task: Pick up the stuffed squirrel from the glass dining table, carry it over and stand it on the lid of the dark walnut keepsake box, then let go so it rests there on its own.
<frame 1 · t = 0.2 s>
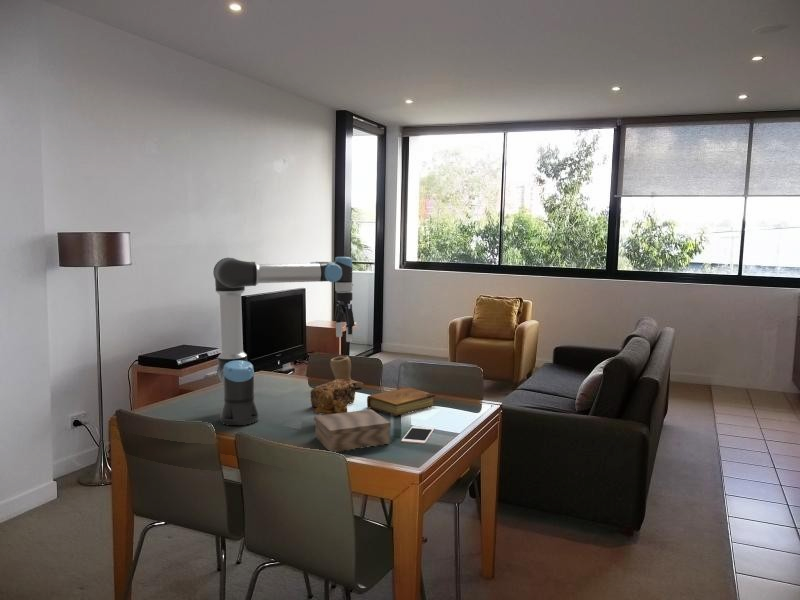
hand: (344, 339, 285), 28 cm above the table, tool pointing down, fingers open, 13 cm apart
stuffed squirrel: (333, 424, 253), on the table
diary: (401, 407, 278), on the table
walnut box: (351, 440, 233), on the table
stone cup: (344, 387, 311), on the table
bread: (333, 405, 281), on the table
cell phone: (418, 436, 239), on the table
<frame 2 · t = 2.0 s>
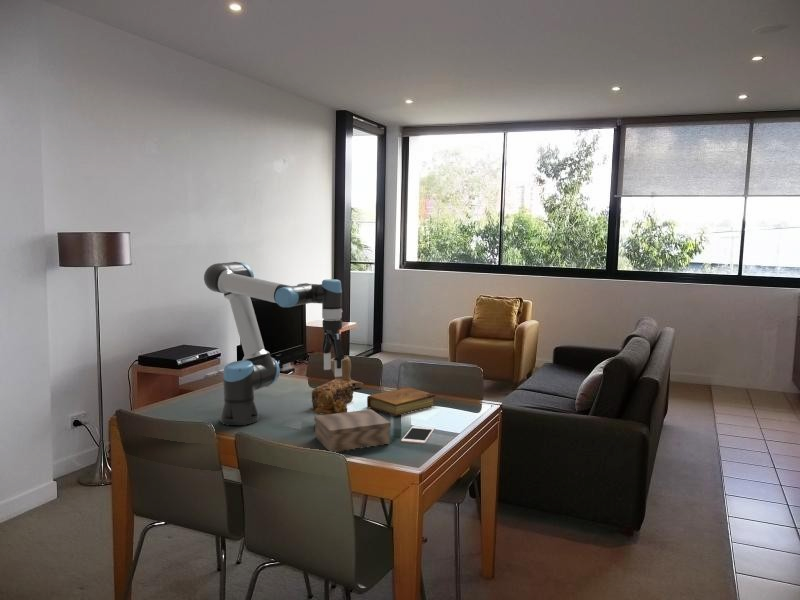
hand: (332, 372, 250), 21 cm above the table, tool pointing down, fingers open, 13 cm apart
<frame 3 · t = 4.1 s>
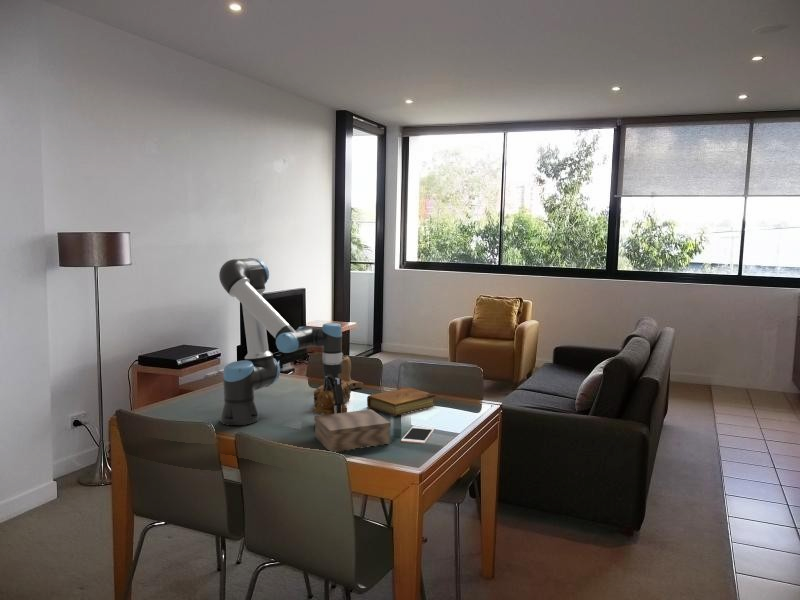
hand: (333, 416, 252), 3 cm above the table, tool pointing down, fingers closed on stuffed squirrel, 12 cm apart
stuffed squirrel: (332, 423, 253), on the table, touching gripper
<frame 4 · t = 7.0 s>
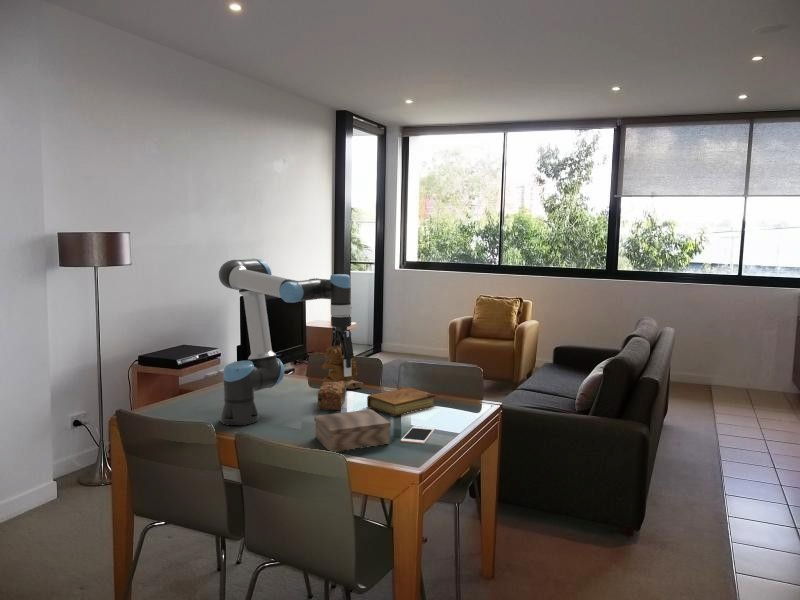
hand: (342, 373, 240), 23 cm above the table, tool pointing down, fingers closed on stuffed squirrel, 12 cm apart
stuffed squirrel: (341, 380, 242), point 20 cm above the table, touching gripper
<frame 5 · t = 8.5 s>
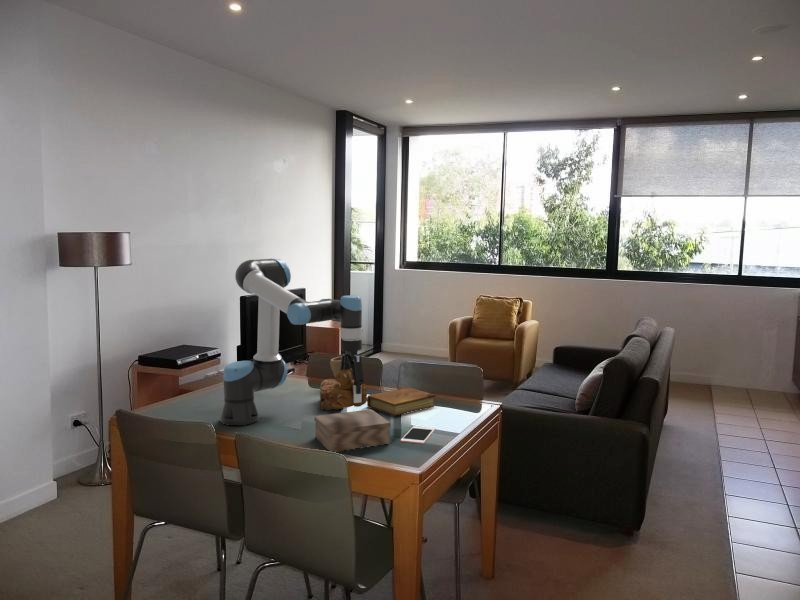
hand: (351, 398, 231), 16 cm above the table, tool pointing down, fingers closed on stuffed squirrel, 12 cm apart
stuffed squirrel: (350, 405, 232), point 13 cm above the table, touching gripper
when the fingers open (12 cm above the table, at t = 9.8 s): stuffed squirrel drops 1 cm, resting on walnut box.
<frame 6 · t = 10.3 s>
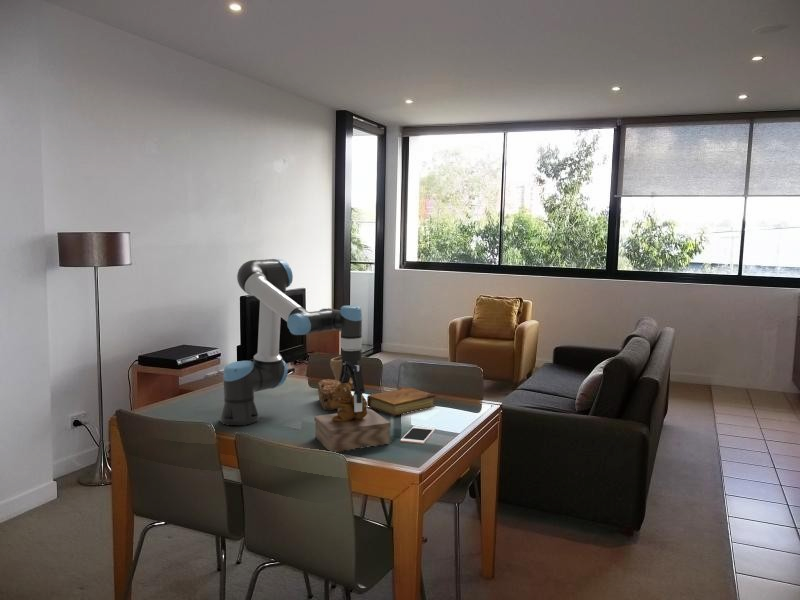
hand: (351, 406, 231), 13 cm above the table, tool pointing down, fingers open, 13 cm apart
stuffed squirrel: (350, 419, 232), point 8 cm above the table, touching walnut box
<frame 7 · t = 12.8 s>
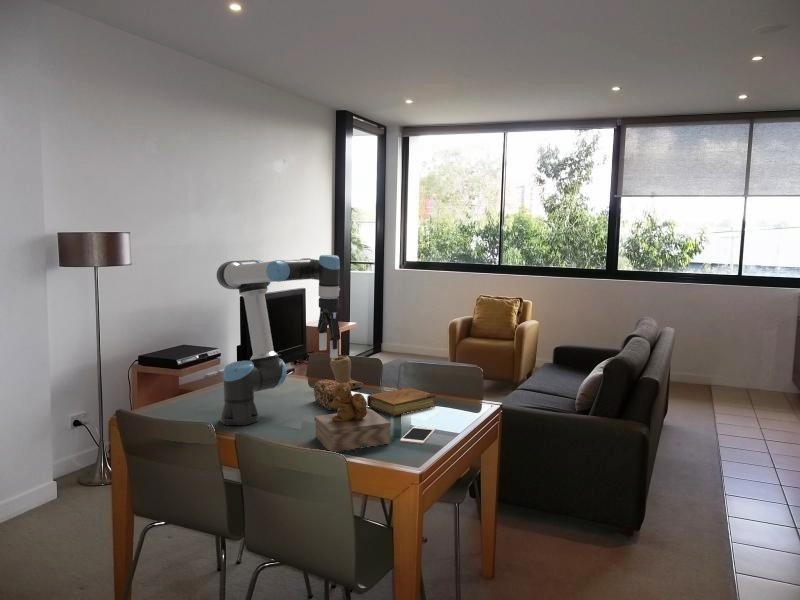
hand: (328, 353, 238), 30 cm above the table, tool pointing down, fingers open, 13 cm apart
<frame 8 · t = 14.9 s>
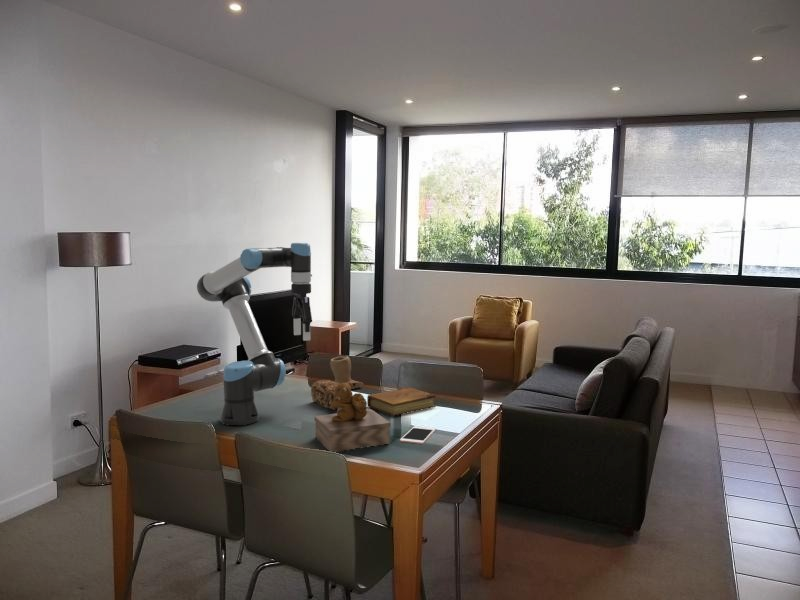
hand: (301, 337, 248), 35 cm above the table, tool pointing down, fingers open, 13 cm apart
at the end: stuffed squirrel inside the target area on the walnut box (1.0 cm from its centre), point 7.8 cm above the walnut box's base; stuffed squirrel tilted 0°; the gripper is holding nothing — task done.
